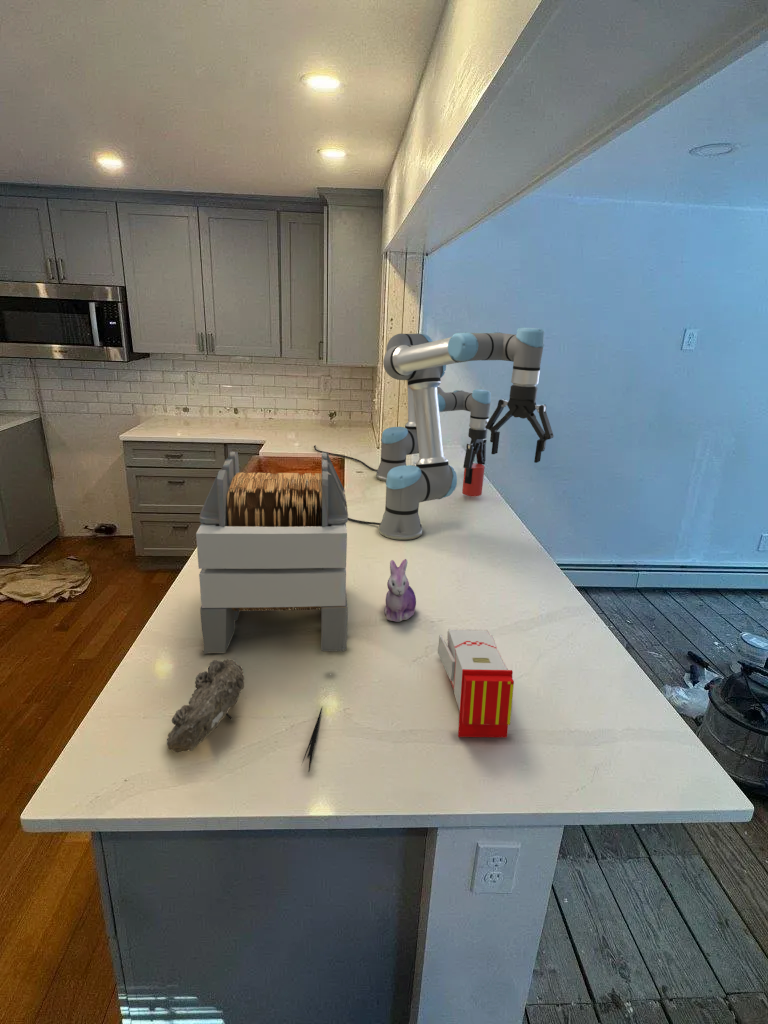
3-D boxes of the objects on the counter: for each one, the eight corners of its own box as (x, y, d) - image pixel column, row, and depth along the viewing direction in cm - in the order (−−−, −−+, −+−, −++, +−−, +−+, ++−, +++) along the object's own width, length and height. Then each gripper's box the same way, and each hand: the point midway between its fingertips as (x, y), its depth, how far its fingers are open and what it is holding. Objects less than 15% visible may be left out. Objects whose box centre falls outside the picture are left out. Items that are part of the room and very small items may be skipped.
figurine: (392, 627, 141) (395, 572, 136) (374, 608, 149) (376, 556, 144) (425, 619, 145) (429, 566, 140) (405, 601, 154) (408, 550, 149)
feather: (331, 679, 122) (336, 673, 122) (307, 777, 96) (313, 769, 95) (324, 675, 122) (329, 669, 121) (298, 772, 95) (304, 764, 95)
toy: (488, 613, 130) (523, 677, 101) (484, 667, 133) (517, 744, 104) (435, 612, 130) (455, 676, 101) (432, 666, 133) (451, 743, 103)
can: (459, 490, 245) (461, 463, 241) (477, 490, 247) (479, 462, 243) (466, 496, 237) (469, 468, 233) (484, 496, 239) (487, 467, 235)
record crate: (224, 585, 158) (215, 442, 144) (341, 584, 162) (344, 444, 148) (200, 656, 126) (187, 481, 112) (347, 652, 130) (351, 482, 116)
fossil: (192, 660, 117) (244, 628, 112) (224, 691, 120) (276, 661, 115) (142, 746, 98) (202, 712, 93) (182, 779, 101) (242, 748, 96)
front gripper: (572, 388, 157) (560, 462, 164) (490, 379, 171) (483, 448, 178) (562, 391, 151) (551, 467, 159) (478, 381, 165) (471, 452, 172)
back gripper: (474, 433, 222) (469, 488, 230) (497, 426, 239) (491, 477, 246) (457, 430, 226) (452, 484, 234) (481, 423, 243) (476, 474, 250)
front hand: (515, 457), depth 168 cm, fingers open, 13 cm apart
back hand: (472, 481), depth 240 cm, fingers closed on can, 8 cm apart
